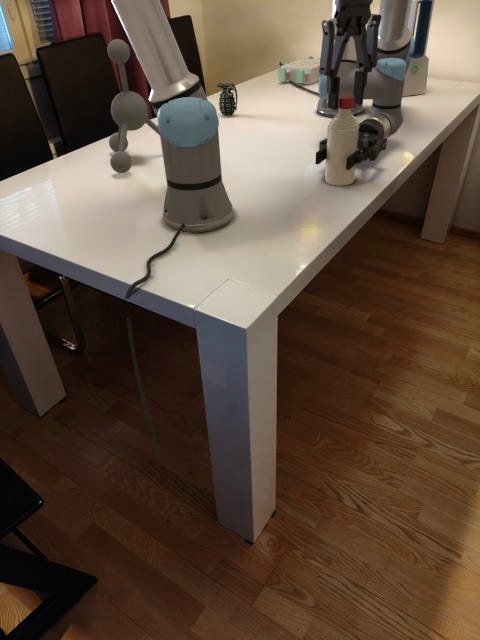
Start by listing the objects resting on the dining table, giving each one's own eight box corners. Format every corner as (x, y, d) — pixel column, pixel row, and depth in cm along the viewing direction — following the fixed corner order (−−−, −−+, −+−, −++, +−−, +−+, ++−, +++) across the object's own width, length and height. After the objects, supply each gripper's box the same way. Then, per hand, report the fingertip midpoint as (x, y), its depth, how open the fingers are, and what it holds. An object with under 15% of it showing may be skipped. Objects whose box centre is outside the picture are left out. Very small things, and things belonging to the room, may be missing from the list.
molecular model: (195, 164, 133) (181, 39, 115) (114, 179, 127) (87, 50, 109) (172, 140, 150) (157, 28, 132) (101, 152, 145) (75, 37, 126)
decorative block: (301, 54, 217) (341, 57, 207) (300, 70, 221) (340, 74, 211) (269, 65, 201) (312, 69, 191) (269, 82, 205) (311, 87, 195)
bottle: (357, 176, 121) (366, 96, 110) (348, 187, 116) (356, 105, 105) (330, 172, 124) (336, 94, 113) (320, 183, 119) (324, 102, 108)
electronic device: (395, 97, 177) (408, -1, 159) (385, 92, 183) (397, -3, 164) (425, 93, 179) (442, -4, 161) (414, 89, 185) (429, -6, 167)
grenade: (217, 117, 168) (214, 86, 162) (221, 112, 172) (219, 82, 166) (235, 117, 166) (233, 86, 160) (239, 113, 171) (238, 82, 165)
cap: (341, 110, 108) (342, 100, 106) (333, 106, 111) (333, 96, 109) (357, 107, 109) (358, 97, 107) (348, 103, 112) (349, 93, 110)
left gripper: (326, -14, 89) (319, 117, 104) (406, -22, 96) (389, 102, 110) (303, -15, 95) (300, 109, 109) (380, -23, 101) (367, 95, 116)
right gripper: (405, 153, 125) (371, 184, 111) (334, 142, 135) (294, 169, 120) (410, 123, 121) (375, 151, 106) (336, 113, 130) (294, 138, 116)
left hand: (345, 105), depth 110 cm, fingers open, 6 cm apart
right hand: (332, 161), depth 113 cm, fingers closed on bottle, 7 cm apart
